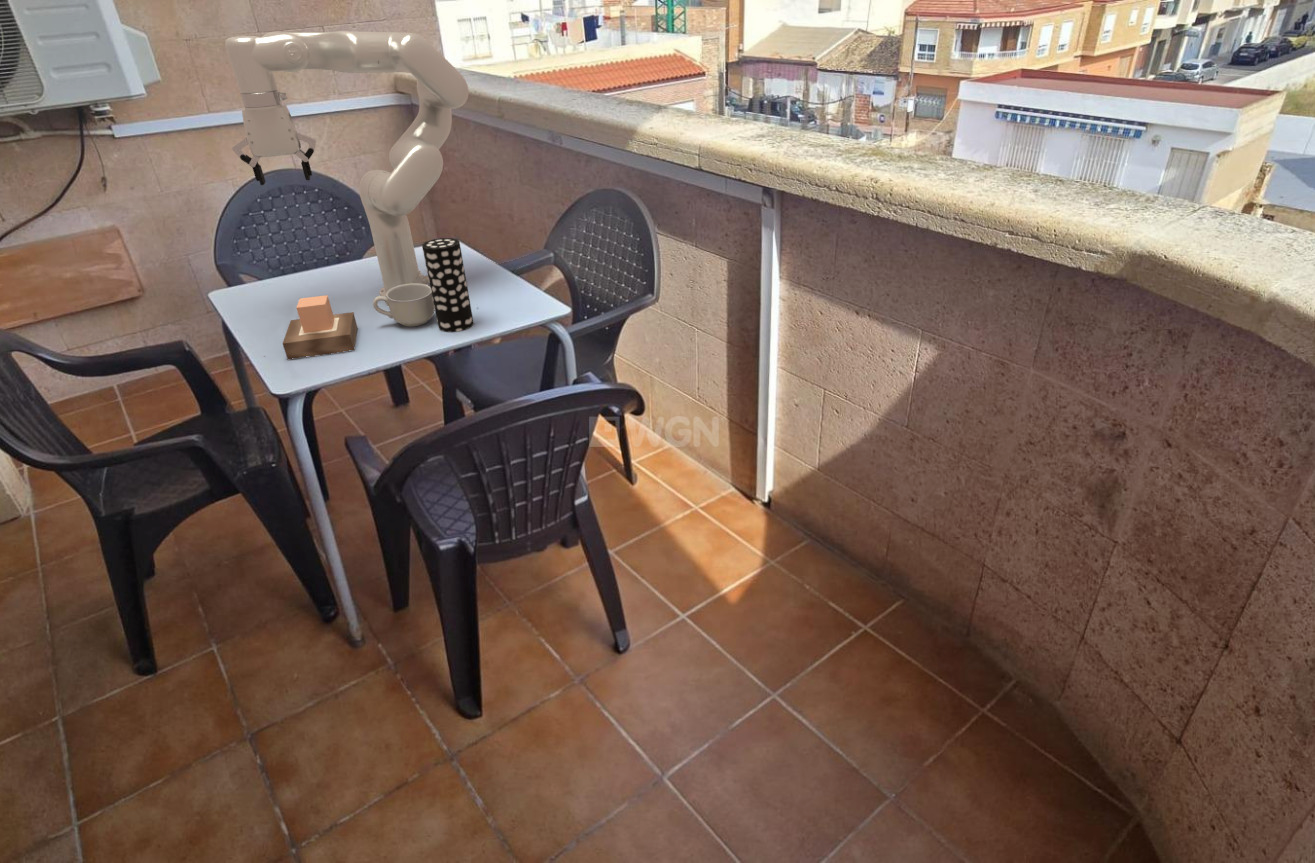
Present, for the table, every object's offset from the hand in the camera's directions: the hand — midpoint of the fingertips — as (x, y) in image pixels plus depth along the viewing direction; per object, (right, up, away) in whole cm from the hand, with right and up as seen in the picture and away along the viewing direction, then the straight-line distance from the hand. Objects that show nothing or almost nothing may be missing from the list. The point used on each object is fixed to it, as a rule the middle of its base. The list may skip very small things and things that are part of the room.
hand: (286, 181), depth 167 cm
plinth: (+8, -37, +2) cm, 38 cm away
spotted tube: (+37, -32, +9) cm, 49 cm away
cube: (+8, -33, 0) cm, 34 cm away
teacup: (+25, -31, +11) cm, 41 cm away
